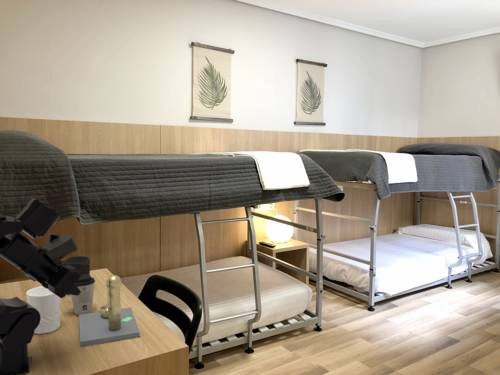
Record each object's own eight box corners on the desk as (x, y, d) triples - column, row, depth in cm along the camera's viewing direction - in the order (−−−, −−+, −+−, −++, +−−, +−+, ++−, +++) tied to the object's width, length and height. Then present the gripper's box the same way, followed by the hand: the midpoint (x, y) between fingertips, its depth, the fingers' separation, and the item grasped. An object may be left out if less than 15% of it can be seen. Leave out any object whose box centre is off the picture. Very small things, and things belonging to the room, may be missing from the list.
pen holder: (58, 288, 138) (57, 258, 137) (88, 283, 142) (87, 254, 141) (60, 297, 130) (59, 265, 129) (92, 292, 134) (91, 261, 133)
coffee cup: (90, 316, 115) (89, 281, 114) (65, 316, 115) (63, 281, 114) (99, 307, 122) (98, 273, 121) (75, 307, 122) (74, 273, 121)
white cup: (30, 324, 110) (28, 287, 109) (63, 320, 113) (61, 283, 112) (26, 337, 103) (24, 297, 102) (61, 332, 105) (59, 293, 104)
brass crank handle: (99, 313, 114) (98, 264, 112) (116, 310, 116) (115, 262, 114) (106, 332, 102) (104, 278, 101) (125, 328, 104) (123, 276, 103)
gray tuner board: (139, 336, 103) (139, 331, 103) (80, 346, 98) (79, 341, 98) (131, 311, 119) (131, 307, 118) (79, 319, 113) (79, 314, 113)
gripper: (70, 231, 85) (121, 272, 94) (36, 219, 98) (84, 257, 107) (30, 277, 81) (88, 316, 89) (0, 258, 94) (53, 294, 102)
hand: (79, 293), depth 97 cm, fingers closed
